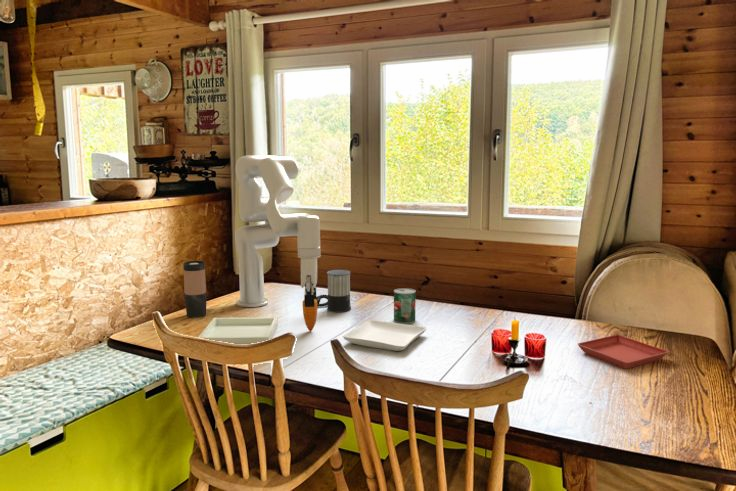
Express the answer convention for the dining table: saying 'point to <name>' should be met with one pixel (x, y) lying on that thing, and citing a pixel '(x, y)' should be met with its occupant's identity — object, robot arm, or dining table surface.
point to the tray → (241, 329)
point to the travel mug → (195, 288)
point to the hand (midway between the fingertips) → (310, 302)
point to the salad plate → (384, 335)
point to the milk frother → (337, 291)
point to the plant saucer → (622, 351)
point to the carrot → (310, 315)
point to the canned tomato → (404, 305)
